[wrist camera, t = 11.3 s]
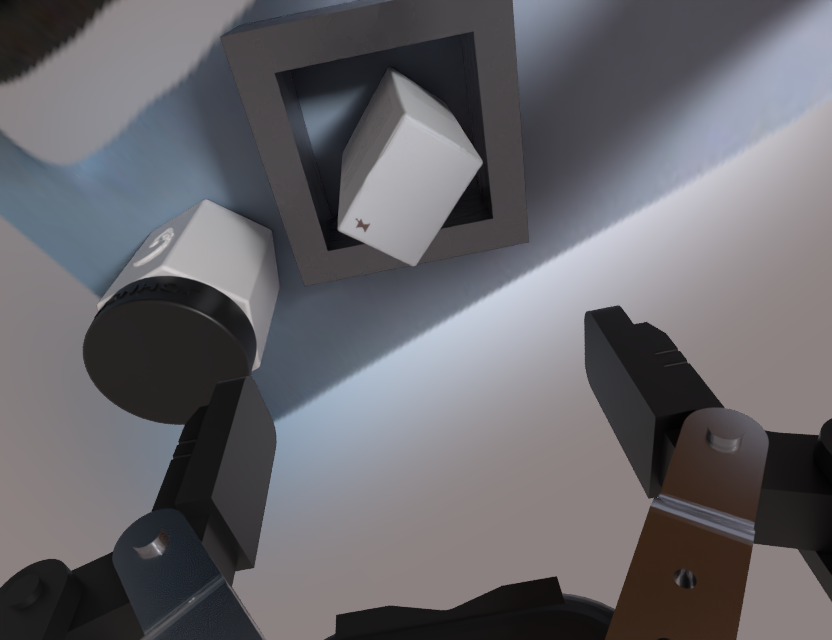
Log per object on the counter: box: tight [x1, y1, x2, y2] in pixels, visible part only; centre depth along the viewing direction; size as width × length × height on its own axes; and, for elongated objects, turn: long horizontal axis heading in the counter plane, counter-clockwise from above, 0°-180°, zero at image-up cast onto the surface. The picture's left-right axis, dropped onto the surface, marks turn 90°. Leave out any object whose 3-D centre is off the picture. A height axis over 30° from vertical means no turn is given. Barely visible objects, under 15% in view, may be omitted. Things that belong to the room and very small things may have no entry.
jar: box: [83, 199, 280, 425], centre depth 33 cm, size 9×8×12 cm
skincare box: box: [338, 67, 483, 267], centre depth 29 cm, size 6×4×12 cm
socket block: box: [220, 0, 529, 286], centre depth 32 cm, size 14×14×5 cm
